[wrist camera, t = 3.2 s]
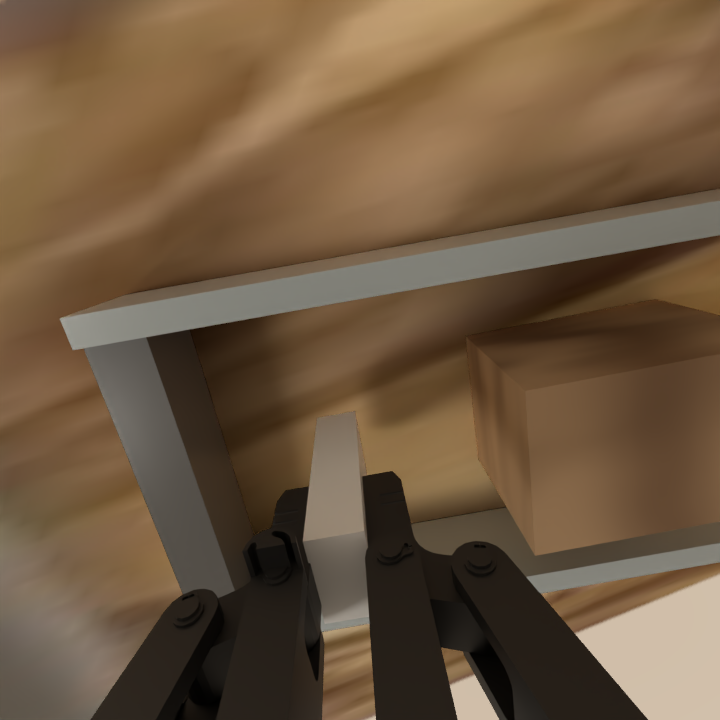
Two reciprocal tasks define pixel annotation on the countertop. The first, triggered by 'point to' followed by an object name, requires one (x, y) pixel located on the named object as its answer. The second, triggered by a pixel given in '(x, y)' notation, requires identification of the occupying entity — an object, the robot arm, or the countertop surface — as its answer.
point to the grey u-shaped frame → (324, 287)
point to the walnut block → (601, 422)
